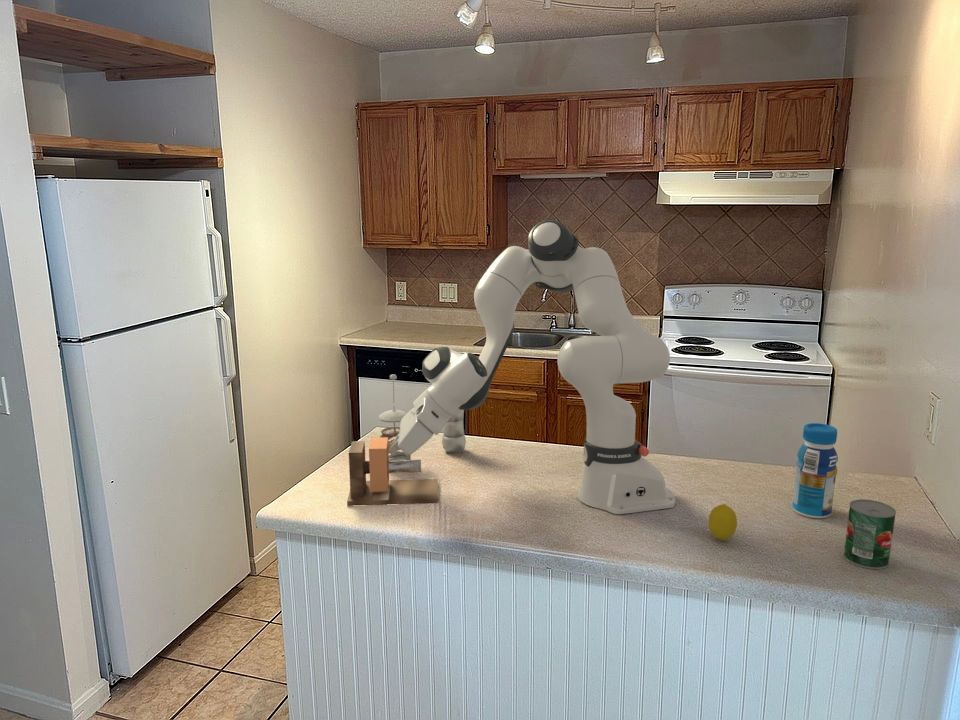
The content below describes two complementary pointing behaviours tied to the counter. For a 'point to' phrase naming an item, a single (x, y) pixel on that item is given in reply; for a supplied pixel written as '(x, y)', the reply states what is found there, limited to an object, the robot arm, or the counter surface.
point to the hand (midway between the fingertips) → (390, 451)
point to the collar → (378, 464)
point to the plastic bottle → (454, 433)
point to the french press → (393, 431)
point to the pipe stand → (397, 489)
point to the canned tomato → (869, 534)
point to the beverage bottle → (816, 471)
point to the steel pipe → (398, 466)
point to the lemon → (722, 522)
